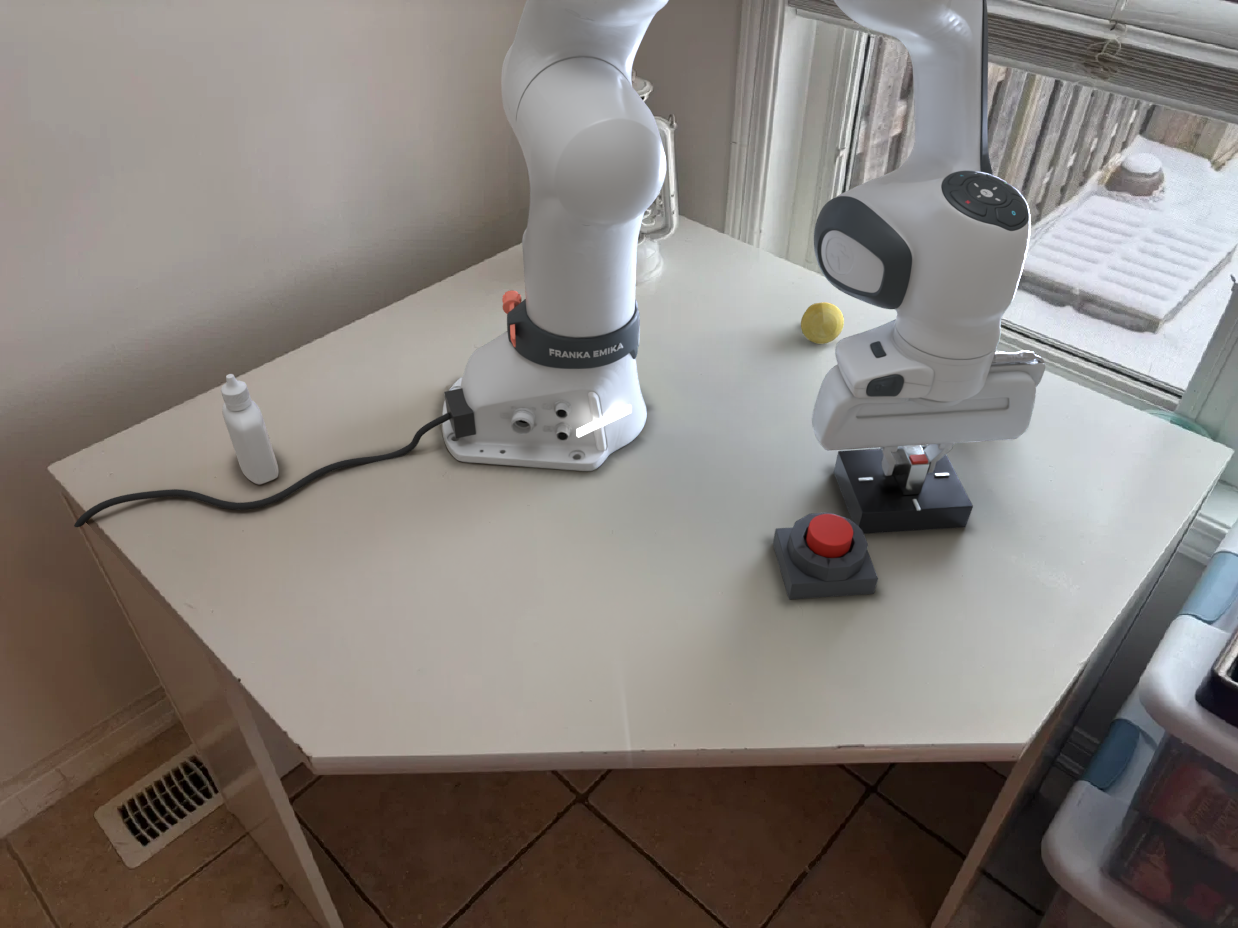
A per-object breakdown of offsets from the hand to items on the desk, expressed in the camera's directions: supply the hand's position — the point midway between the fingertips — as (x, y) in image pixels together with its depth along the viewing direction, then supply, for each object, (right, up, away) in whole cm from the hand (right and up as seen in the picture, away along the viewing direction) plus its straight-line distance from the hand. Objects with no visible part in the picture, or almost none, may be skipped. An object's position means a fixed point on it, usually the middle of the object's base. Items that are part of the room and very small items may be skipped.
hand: (906, 470), depth 96 cm
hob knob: (0, -1, +1) cm, 1 cm away
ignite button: (-9, -7, -7) cm, 13 cm away
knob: (-4, +16, +24) cm, 29 cm away
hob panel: (0, -3, +3) cm, 4 cm away
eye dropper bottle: (-66, 0, +5) cm, 66 cm away
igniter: (-9, -9, -4) cm, 14 cm away
